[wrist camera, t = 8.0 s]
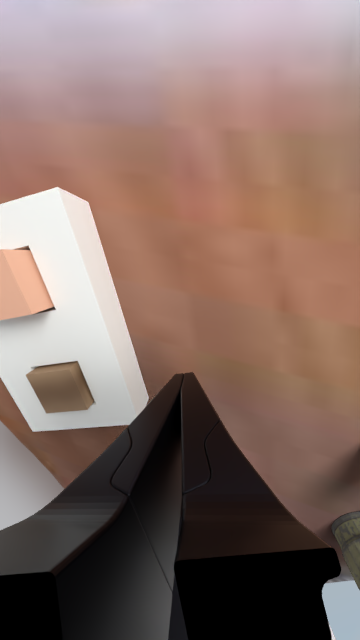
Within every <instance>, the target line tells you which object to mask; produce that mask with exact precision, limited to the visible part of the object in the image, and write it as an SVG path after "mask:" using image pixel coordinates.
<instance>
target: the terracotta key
mask: <svg viewBox="0 0 360 640" xmlns="http://www.w3.org/2000/svg"><path fill="white" fill-rule="evenodd" d="M52 307H54V304H53V302H52V300H51V297H50V295H49V292H48V290H47V288H46V285H45V283H44V281H43V278H42V276H41V274H40V271H39V269H38V267H37V264H36V262H35V260H34V257H33V255H32V253H31V250H10V249H0V320H5V319H10V318H15V317H21V316H26V315H32V314H35V313H37V312H40V311H43V310H46V309H49V308H52Z"/></svg>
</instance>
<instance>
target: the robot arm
mask: <svg viewBox="0 0 360 640" xmlns="http://www.w3.org/2000/svg"><path fill="white" fill-rule="evenodd" d="M340 572H341V567H340V563H339V560H338V557H337V553H336V551H335V549H334V548H332V547H331V546H330V545H328V544H327V543H326V542H324V541H323V540H322V539H321V538H319V537H318V536H317V535H315V534H314V533H313V532H312V531H310V530H309V529H308V528H306V527H305V526H304V525H303V524H302V523H300V522H299V521H298V520H297V519H296V518H295V517H294V516H293V515H292V514H291V513H290V512H289V511H288V510H287V509H286V508H285V506H284V505H283V504H282V503H281V502H280V501H279V499H278V498H277V497H276V496H275V494H274V493H273V492H272V491H271V489H270V488H269V487H268V485H267V484H266V483H265V482H264V480H263V479H262V478H261V476H260V475H259V474H258V473H257V471H256V470H255V469H254V467H253V466H252V465H251V464H250V462H249V461H248V460H247V458H246V457H245V456H244V455H243V453H242V452H241V450H240V449H239V448H238V446H237V445H236V444H235V442H234V441H233V439H232V438H231V436H230V434H229V433H228V431H227V430H226V428H225V426H224V425H223V423H222V421H221V420H220V418H219V416H218V414H217V413H216V411H215V409H214V407H213V406H212V404H211V402H210V401H209V399H208V397H207V395H206V394H205V392H204V390H203V388H202V387H201V385H200V383H199V381H198V380H197V378H196V376H195V375H194V373H193V372H190V373H185V374H183V373H182V374H175V375H174V376H173V377H172V379H171V380H170V381H169V382H168V383H167V384H166V385H165V386H164V387H163V388H162V389H161V391H160V392H159V393H158V394H157V395H156V396H155V397H154V398H153V399H152V400H151V402H150V403H149V404H148V405H147V406H146V407H145V408H144V409H143V410H142V411H141V413H140V414H139V415H138V416H137V417H136V418H135V419H134V420H133V421H132V422H131V424H130V425H129V426H128V428H126V429H125V430H124V431H123V432H122V433H121V434H120V436H119V437H118V438H117V439H116V440H115V441H114V442H113V443H112V444H111V445H110V446H109V447H108V448H107V449H106V450H105V451H104V452H103V453H102V454H101V455H100V456H99V457H98V458H97V459H96V460H95V461H94V462H93V463H92V464H91V465H90V466H89V467H87V468H86V469H85V470H84V471H83V472H82V473H81V474H80V475H79V476H78V477H77V478H76V479H75V480H74V481H73V482H72V483H71V484H70V485H68V486H67V487H66V488H65V489H64V490H63V491H62V492H61V493H60V494H59V495H58V496H57V497H56V498H55V499H54V500H52V501H51V502H50V503H49V504H48V505H46V506H45V507H44V508H43V509H41V510H40V511H38V512H37V513H35V514H34V515H32V516H30V517H29V518H27V519H25V520H23V521H21V522H19V523H17V524H14V525H12V526H10V527H7V528H5V529H3V530H1V531H0V640H332V635H331V631H330V627H329V623H328V619H327V615H326V611H325V607H324V603H323V599H322V588H323V585H324V584H325V583H326V582H327V581H328V580H329V579H332V578H335V577H338V576H339V575H340Z"/></svg>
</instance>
